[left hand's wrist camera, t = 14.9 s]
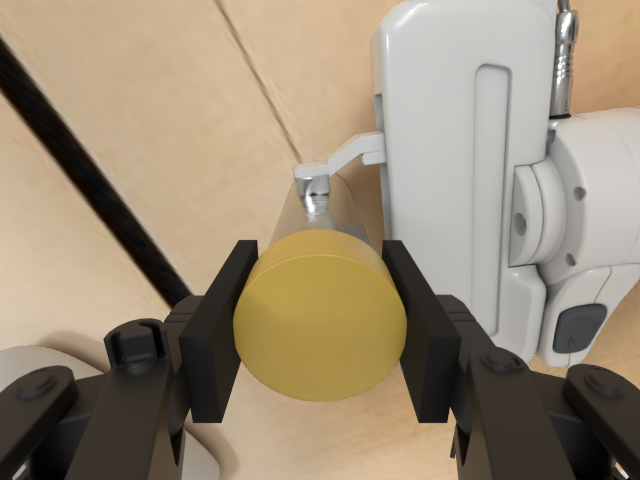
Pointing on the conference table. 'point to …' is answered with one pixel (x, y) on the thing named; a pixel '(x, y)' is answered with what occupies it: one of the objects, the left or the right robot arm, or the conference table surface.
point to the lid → (320, 317)
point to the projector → (21, 360)
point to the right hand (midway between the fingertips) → (304, 235)
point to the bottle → (321, 213)
